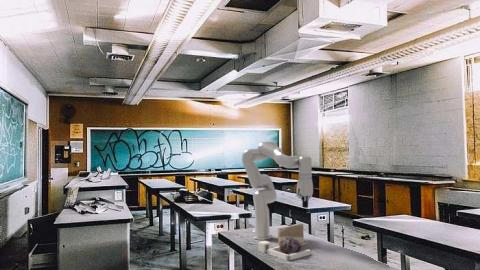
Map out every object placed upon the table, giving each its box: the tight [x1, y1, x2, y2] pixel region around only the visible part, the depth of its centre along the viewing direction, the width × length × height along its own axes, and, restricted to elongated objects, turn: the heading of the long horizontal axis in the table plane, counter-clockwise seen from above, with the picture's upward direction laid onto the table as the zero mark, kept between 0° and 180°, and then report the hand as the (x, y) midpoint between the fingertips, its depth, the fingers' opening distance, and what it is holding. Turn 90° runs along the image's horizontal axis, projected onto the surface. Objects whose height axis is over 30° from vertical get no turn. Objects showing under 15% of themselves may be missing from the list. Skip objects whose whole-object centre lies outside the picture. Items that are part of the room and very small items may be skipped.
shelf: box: [275, 223, 307, 247], centre depth 231 cm, size 6×20×12 cm, turn 127°
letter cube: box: [257, 240, 271, 253], centre depth 222 cm, size 5×5×5 cm
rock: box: [280, 238, 302, 255], centre depth 214 cm, size 12×9×10 cm
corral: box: [266, 245, 312, 261], centre depth 214 cm, size 17×18×2 cm
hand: (305, 207), depth 228 cm, fingers closed
